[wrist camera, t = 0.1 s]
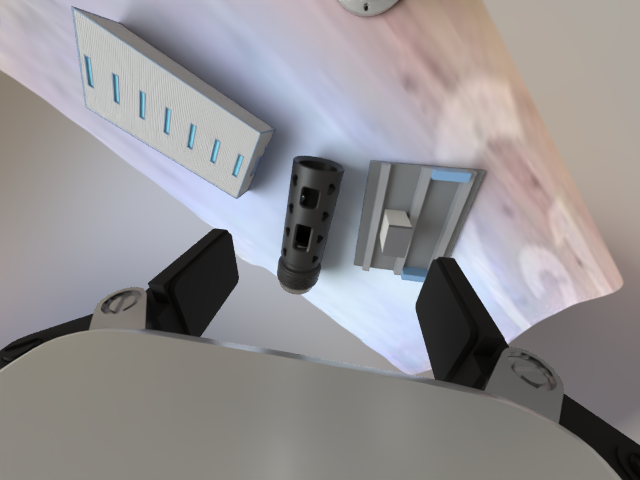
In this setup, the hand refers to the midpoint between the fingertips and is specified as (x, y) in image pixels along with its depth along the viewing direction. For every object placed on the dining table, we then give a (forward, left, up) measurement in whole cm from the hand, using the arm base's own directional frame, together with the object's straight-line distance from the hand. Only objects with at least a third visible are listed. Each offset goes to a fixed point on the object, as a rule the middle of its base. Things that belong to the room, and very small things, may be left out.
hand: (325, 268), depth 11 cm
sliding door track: (+14, +14, -37) cm, 42 cm away
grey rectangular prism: (+14, +10, -36) cm, 40 cm away
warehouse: (-3, -31, -37) cm, 49 cm away
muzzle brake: (+16, -7, -37) cm, 41 cm away
